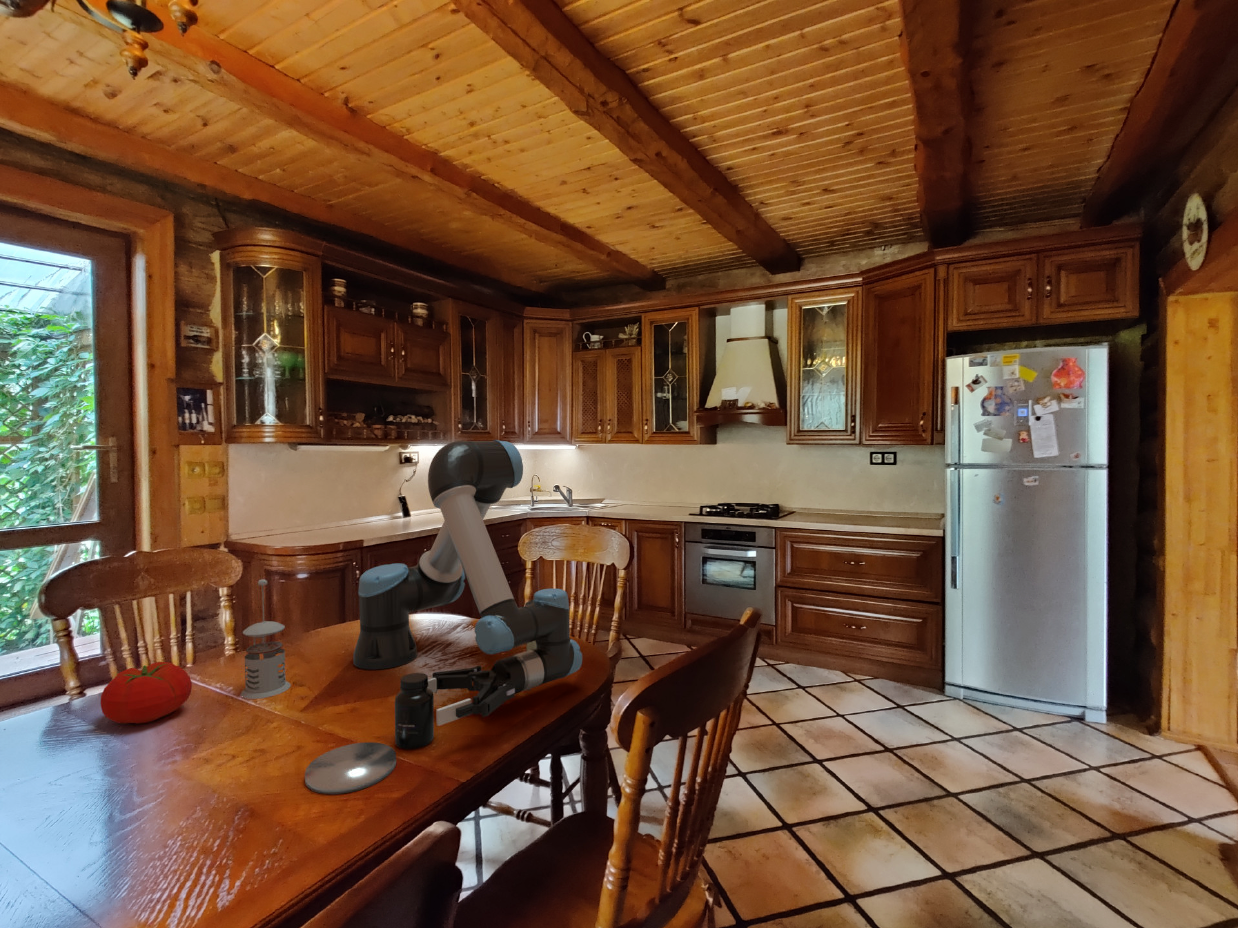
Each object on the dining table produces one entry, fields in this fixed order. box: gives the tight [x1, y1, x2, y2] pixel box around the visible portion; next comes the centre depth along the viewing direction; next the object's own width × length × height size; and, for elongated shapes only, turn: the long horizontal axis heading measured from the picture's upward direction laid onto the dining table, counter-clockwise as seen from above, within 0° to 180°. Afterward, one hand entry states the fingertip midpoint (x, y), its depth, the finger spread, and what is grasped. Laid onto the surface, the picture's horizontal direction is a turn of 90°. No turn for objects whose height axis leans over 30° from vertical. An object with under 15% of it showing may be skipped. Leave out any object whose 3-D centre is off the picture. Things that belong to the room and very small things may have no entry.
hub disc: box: [304, 741, 397, 795], centre depth 102 cm, size 14×14×1 cm
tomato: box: [100, 661, 193, 724], centre depth 122 cm, size 14×16×10 cm
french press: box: [240, 578, 291, 700], centre depth 136 cm, size 10×12×25 cm
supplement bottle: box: [394, 672, 435, 750], centre depth 111 cm, size 7×7×12 cm
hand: (419, 705), depth 111 cm, fingers open, 13 cm apart
